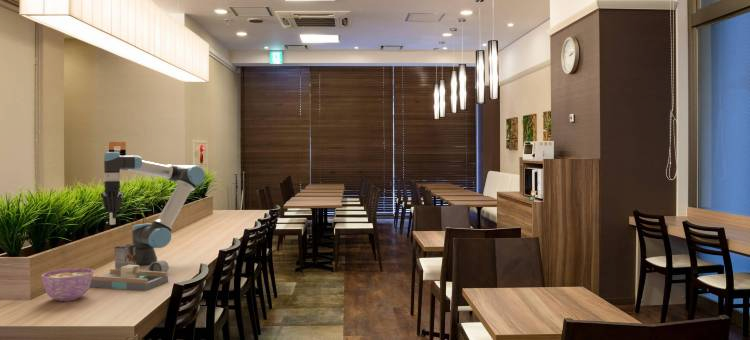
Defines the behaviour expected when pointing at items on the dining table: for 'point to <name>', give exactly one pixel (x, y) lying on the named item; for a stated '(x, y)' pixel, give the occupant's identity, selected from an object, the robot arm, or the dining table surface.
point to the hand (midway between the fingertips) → (112, 224)
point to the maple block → (130, 271)
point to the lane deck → (129, 280)
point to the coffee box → (125, 255)
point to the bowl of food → (67, 283)
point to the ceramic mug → (159, 266)
